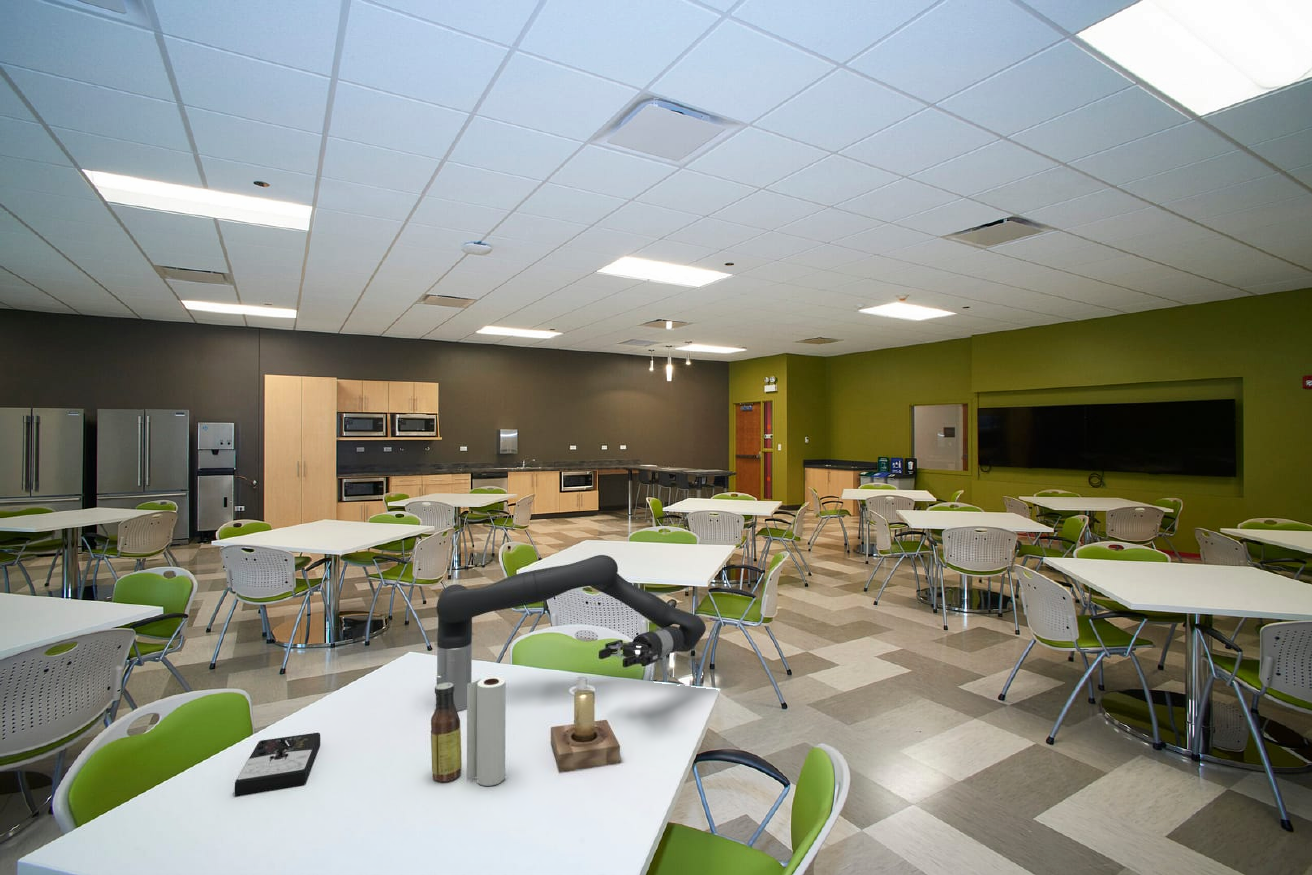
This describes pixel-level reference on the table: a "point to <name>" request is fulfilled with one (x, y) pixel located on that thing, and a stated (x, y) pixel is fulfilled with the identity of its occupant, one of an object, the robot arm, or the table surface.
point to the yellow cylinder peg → (584, 715)
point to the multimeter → (278, 764)
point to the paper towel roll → (486, 730)
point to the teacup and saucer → (581, 685)
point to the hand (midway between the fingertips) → (611, 659)
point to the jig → (584, 748)
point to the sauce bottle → (445, 735)
